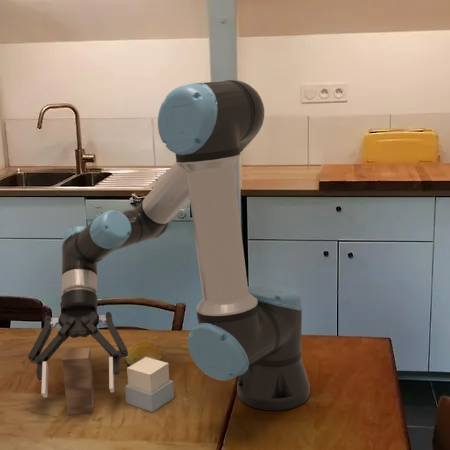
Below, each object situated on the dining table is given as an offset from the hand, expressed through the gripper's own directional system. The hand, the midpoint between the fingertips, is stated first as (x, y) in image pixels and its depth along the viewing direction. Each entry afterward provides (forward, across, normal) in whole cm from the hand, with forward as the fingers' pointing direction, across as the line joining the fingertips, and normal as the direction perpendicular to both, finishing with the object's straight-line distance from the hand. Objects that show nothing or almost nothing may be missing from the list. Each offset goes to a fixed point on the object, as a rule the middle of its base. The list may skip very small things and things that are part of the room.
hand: (78, 392), depth 140 cm
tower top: (-2, -14, -3) cm, 14 cm away
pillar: (+2, 0, -5) cm, 5 cm away
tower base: (+1, -14, -6) cm, 15 cm away
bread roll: (-13, -13, -20) cm, 27 cm away
